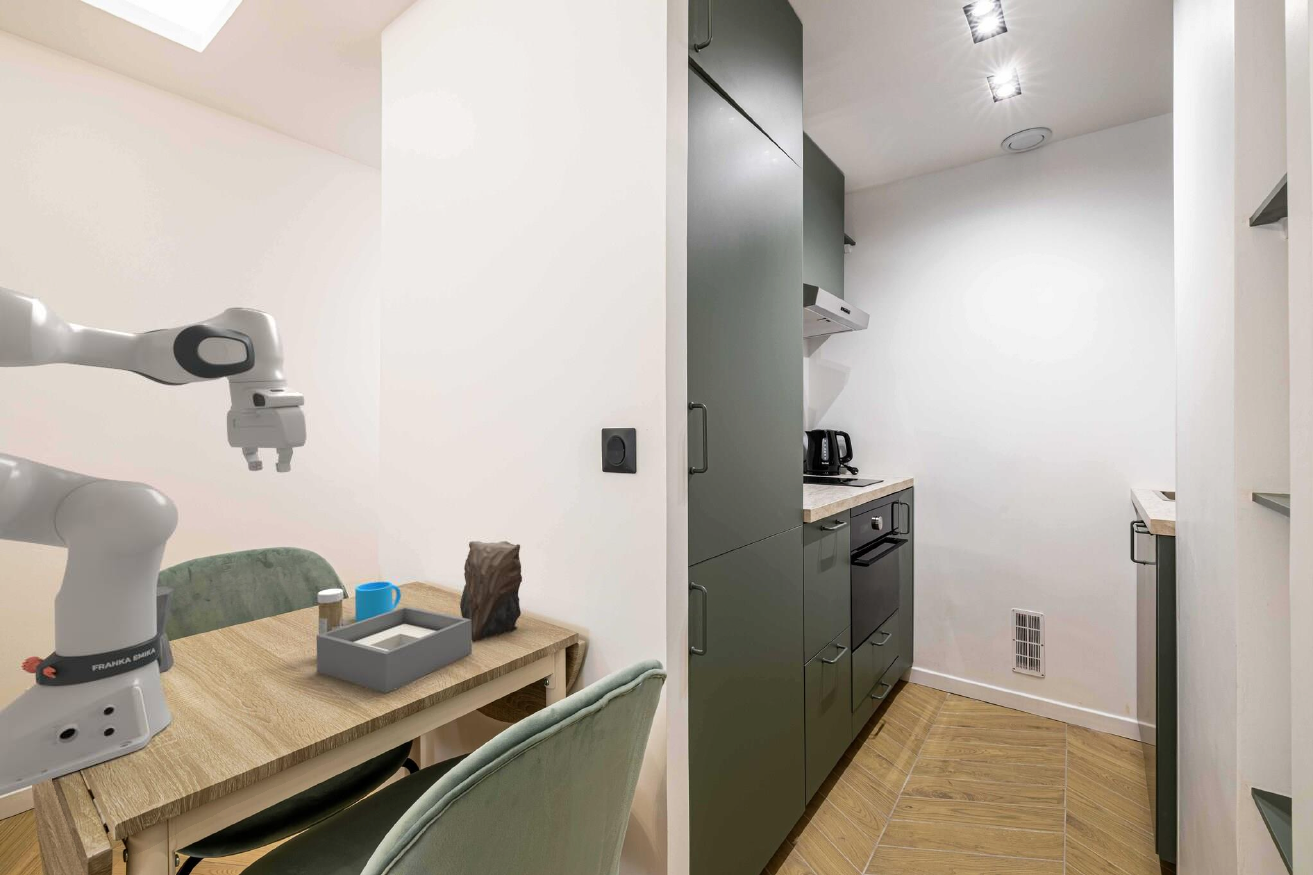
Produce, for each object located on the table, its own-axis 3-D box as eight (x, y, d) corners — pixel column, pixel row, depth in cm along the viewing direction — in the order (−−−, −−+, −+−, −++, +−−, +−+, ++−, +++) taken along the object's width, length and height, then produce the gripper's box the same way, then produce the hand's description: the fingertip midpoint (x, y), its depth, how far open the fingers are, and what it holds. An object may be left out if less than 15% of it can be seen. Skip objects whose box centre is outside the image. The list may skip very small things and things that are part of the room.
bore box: (386, 693, 98) (385, 654, 98) (317, 671, 107) (316, 635, 107) (471, 653, 116) (471, 619, 116) (406, 637, 125) (405, 606, 125)
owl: (458, 625, 133) (457, 541, 132) (511, 616, 139) (510, 536, 139) (470, 642, 122) (469, 551, 122) (527, 631, 128) (526, 544, 128)
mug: (372, 626, 132) (371, 592, 132) (347, 622, 136) (347, 588, 136) (412, 611, 144) (411, 579, 143) (388, 607, 147) (388, 576, 147)
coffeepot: (144, 658, 114) (142, 571, 114) (193, 656, 115) (192, 569, 115) (73, 694, 99) (71, 592, 98) (131, 691, 100) (129, 591, 99)
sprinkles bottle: (344, 657, 114) (344, 591, 114) (318, 662, 112) (318, 595, 112) (343, 649, 118) (342, 586, 118) (317, 654, 116) (317, 590, 115)
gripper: (212, 400, 106) (221, 472, 107) (272, 397, 97) (282, 475, 98) (249, 399, 112) (257, 467, 113) (309, 395, 102) (318, 469, 103)
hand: (269, 471), depth 105 cm, fingers open, 8 cm apart
